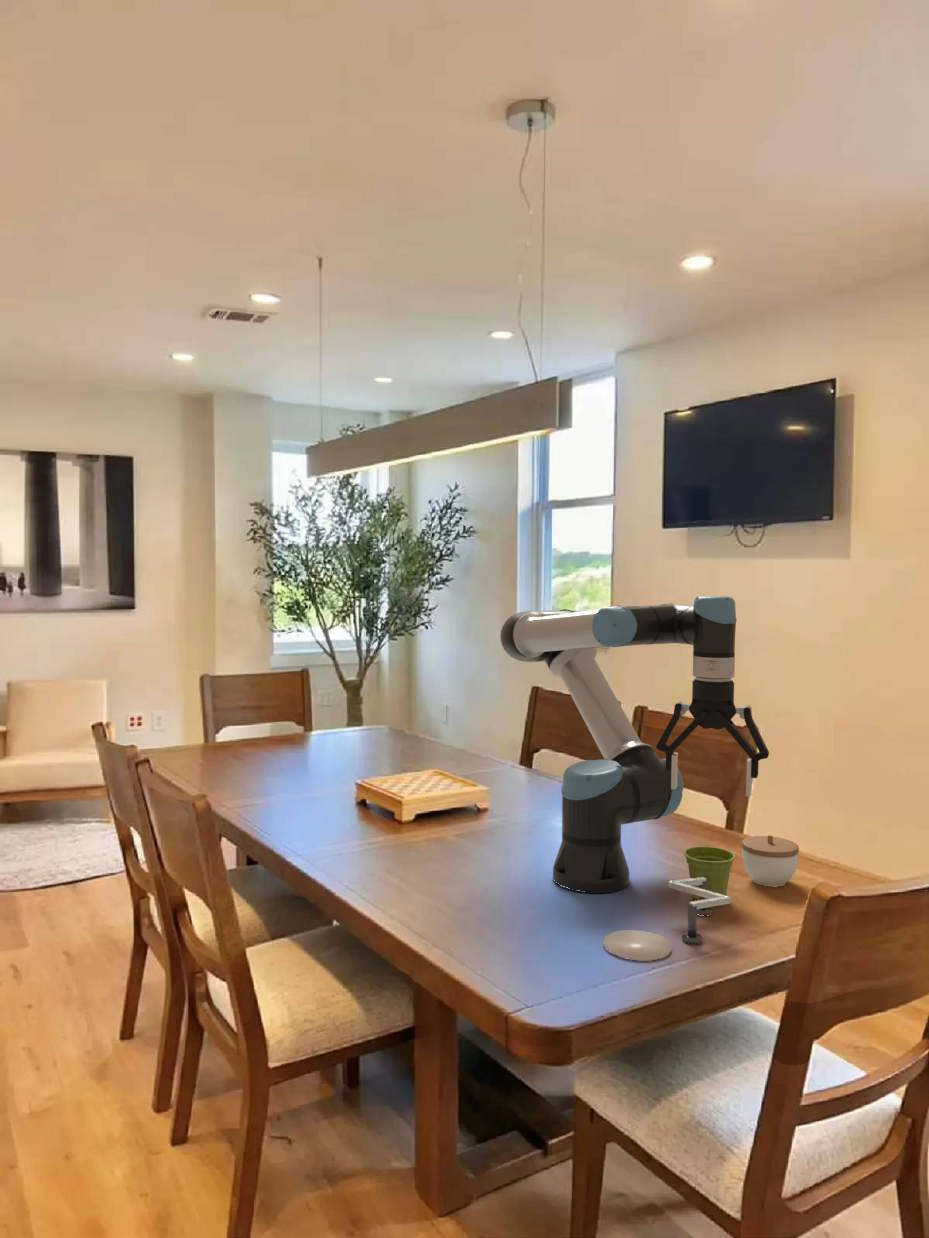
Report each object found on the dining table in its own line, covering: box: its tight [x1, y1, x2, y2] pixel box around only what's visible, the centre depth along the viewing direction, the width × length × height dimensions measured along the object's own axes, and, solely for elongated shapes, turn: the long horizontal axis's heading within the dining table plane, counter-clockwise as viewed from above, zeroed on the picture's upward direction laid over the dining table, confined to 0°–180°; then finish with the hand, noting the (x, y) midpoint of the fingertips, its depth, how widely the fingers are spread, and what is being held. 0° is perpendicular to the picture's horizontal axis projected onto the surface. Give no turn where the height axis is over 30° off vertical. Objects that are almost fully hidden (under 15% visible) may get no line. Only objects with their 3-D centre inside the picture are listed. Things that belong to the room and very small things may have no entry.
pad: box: [603, 929, 672, 962], centre depth 150 cm, size 11×11×1 cm
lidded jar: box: [741, 834, 800, 887], centre depth 181 cm, size 11×11×9 cm
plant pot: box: [683, 845, 736, 901], centre depth 172 cm, size 9×9×9 cm
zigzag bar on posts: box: [667, 877, 732, 945], centre depth 158 cm, size 11×16×7 cm
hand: (710, 791), depth 171 cm, fingers open, 13 cm apart
